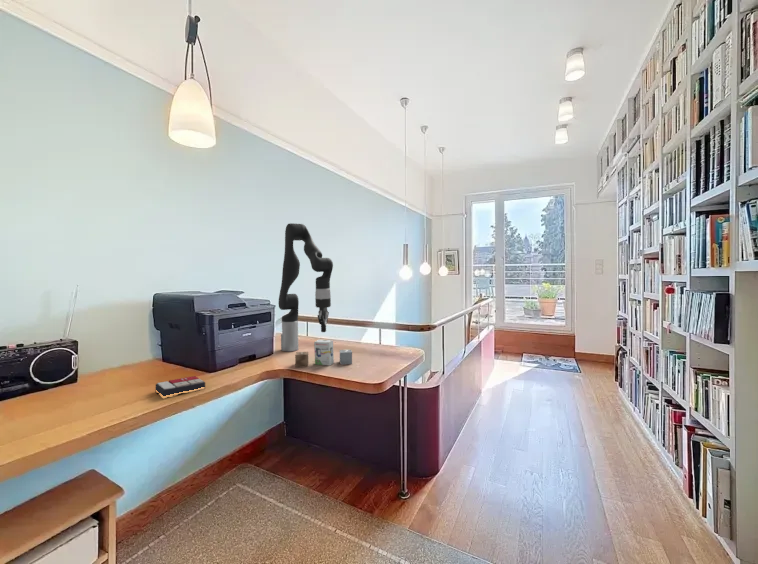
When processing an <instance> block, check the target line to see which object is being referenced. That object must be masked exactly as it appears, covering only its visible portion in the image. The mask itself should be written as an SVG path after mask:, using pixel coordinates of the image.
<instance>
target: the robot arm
mask: <svg viewBox="0 0 758 564" xmlns="http://www.w3.org/2000/svg"><path fill="white" fill-rule="evenodd" d="M294 241H301V242H303V243H304V244H303V252H304V254H305V255H306V257H307V258H308V259H309V261H310V265H311V266H310V267H311V269H312V270H313V271H314V272H317V273H322V274H321V275H320V276H318V277H316V278H315V292H314V293H315V295H314V296H315V298H314V299H315V307H316V308H318V314H317V319H318V323H319V325H320V331H321V333H326V332H327V323H328V321H329V320H328V319H329V313H330V312H329V310H328V308H331V307H332V303H331V297H332V296H331V282H330V281H331V277H332V271H333V268H334V263H333V260H332V259H331V258H329V257H323V253H322V251H321V250H320V249H319V248H318V246H317V245H316V244H315V242H314V240H313V238H312V234H310V231H309V229H308V227H307V226H306V224H304V223H291V222H290V223H287V224H286V226H285V230H284V254H283V255H284V256H283V263H282V273H281V274H282V276H281V285H280V290H279V296H278V308H279V309H280V310H281V311H288V310H289V312H288V313H286V314H285V315H282V317H281V334H280V351H283V352H296V351H298V350H299V303H300V302H299V296H298V294H296V293H289V290H290V287H291V286H292V285H293V283H294V282H295V281H296V280H297V278H298V277H299V275H300V268H301V267H300V266H301V264H300V263H301V262H300V260H299V257H298V256H297V254H296V252H295V249H294Z"/></svg>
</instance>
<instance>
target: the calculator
mask: <svg viewBox="0 0 758 564" xmlns="http://www.w3.org/2000/svg"><path fill="white" fill-rule="evenodd" d="M201 387H205V388H206V382H205V381H204V380H202V379H201V378H200V377H198V376H188V377H187V376H186V377H181V378H175V379H170V380H168V381H167V380H166V381H161V382H157V383H155V391H156V390H157V391H158V392H159V393H161V394H162V395H163V396H166V395H170V394H174V393H179V392H183V391H189V390H194V389H198V388H201Z"/></svg>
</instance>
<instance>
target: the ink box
mask: <svg viewBox="0 0 758 564" xmlns="http://www.w3.org/2000/svg"><path fill="white" fill-rule="evenodd" d="M313 346H314V364H315V365H317V366H331V365H333V364H334V363H335V359H334V340H332V339H331V340H330V339H317V340H315V341H314V342H313Z"/></svg>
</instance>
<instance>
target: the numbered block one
mask: <svg viewBox="0 0 758 564" xmlns="http://www.w3.org/2000/svg"><path fill="white" fill-rule="evenodd" d="M295 352H296V351H295ZM294 358H295V361H294V362H295V368H303V367H304V368H305V367H309V363H310V362H309V351H297V352H296V353H295V357H294Z"/></svg>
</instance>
